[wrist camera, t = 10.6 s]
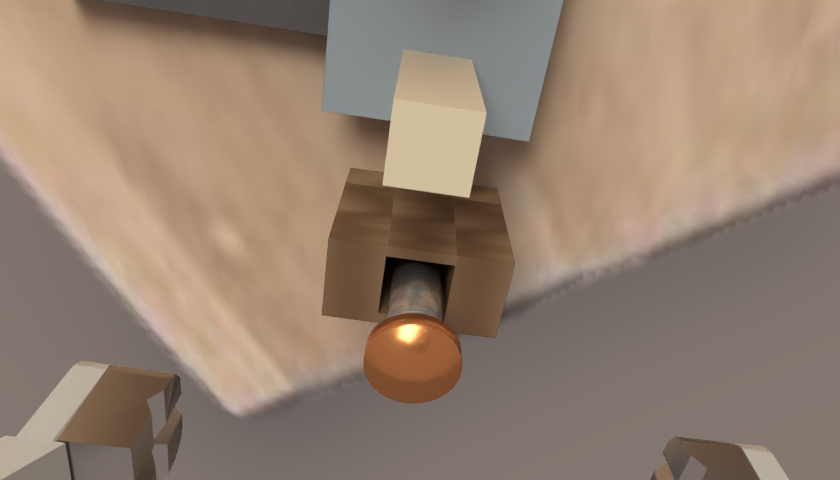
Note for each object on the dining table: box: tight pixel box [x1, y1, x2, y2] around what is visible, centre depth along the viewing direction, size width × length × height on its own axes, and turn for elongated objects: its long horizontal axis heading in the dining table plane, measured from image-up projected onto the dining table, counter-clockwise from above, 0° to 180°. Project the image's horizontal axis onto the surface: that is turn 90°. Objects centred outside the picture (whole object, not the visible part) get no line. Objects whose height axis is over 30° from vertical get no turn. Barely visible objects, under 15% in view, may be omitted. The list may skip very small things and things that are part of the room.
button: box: [364, 258, 462, 403], centre depth 25 cm, size 4×4×7 cm
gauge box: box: [322, 168, 515, 338], centre depth 30 cm, size 8×4×8 cm, turn 81°
